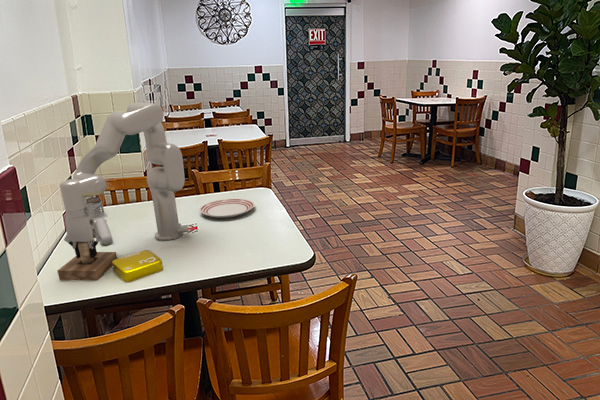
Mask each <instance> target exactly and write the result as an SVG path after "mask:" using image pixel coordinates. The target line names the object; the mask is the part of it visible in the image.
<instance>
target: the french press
mask: <svg viewBox="0 0 600 400" xmlns="http://www.w3.org/2000/svg"><path fill="white" fill-rule="evenodd" d="M103 193H104V192H103ZM103 193H102V194H100V196H97V197H96V196H91V197H88V198H86V203H87V207H88V209H90V210H91V213H89V214H91V215H92V217H93V219H94V221H96V220H97V219H100V218H103V219H106V218H107V217H108V215H107V214H106V213H105V209H104V202H105V201H103V200H102V199H103V198H105V195H104V194H103ZM102 196H103V198H102Z"/></svg>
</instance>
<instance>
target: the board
mask: <svg viewBox="0 0 600 400" xmlns="http://www.w3.org/2000/svg"><path fill="white" fill-rule="evenodd" d="M115 259H118V255H117V251H97V255H96V256H95V257H94V260H95V261H94V262H93V263H92V264H82V261H81V257H80V258H77V256H76V255H75V256H74V257H72V258H71V259H69V261H68V262H65V264H64V265H62V266H61V267H59V268H58V269H57V275H58V279H59V280H60V281H99V280H100V278H102V277H103V276H104V275H106V274H107V272H108V271H110V269H111V268H113V265H112V261H113V260H115Z"/></svg>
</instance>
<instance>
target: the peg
mask: <svg viewBox="0 0 600 400" xmlns="http://www.w3.org/2000/svg"><path fill="white" fill-rule="evenodd" d="M78 247H79V252H80V256H81V261H82V264H92V263H93V262H94V261H95V260H94V258H91V256H90V251H89V249H90V246H89V245H88V243H87V242H78Z"/></svg>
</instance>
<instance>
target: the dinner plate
mask: <svg viewBox="0 0 600 400" xmlns="http://www.w3.org/2000/svg"><path fill="white" fill-rule="evenodd" d="M254 207H255V203H254V202H252V201H251V200H248V199H245V198H225V199H219V200H213V201H209V202H207V203H205V204H203V205H202V206H200V207H199V212H200V214H203V215H204V216H207V217H211V218H216V219H228V218H234V217H238V216H241V215H243V214H245V213H248V212H249V211H251V210H252V209H253V208H254Z"/></svg>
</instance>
